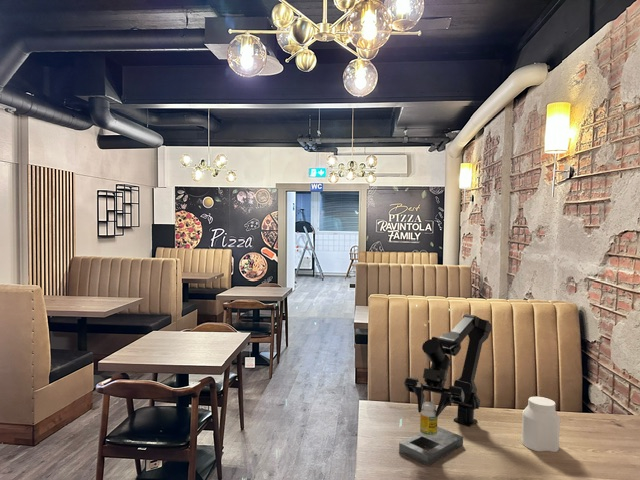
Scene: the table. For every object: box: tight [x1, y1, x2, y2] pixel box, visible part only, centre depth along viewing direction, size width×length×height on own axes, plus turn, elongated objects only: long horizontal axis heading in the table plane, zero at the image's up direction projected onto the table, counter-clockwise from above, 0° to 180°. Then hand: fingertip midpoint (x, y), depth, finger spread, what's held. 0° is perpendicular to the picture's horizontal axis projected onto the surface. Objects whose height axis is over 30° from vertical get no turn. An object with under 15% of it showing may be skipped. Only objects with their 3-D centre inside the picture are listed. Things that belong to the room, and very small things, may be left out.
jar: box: [520, 396, 561, 453], centre depth 155 cm, size 12×10×15 cm
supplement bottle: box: [419, 401, 439, 437], centre depth 147 cm, size 5×5×10 cm
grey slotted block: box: [398, 426, 464, 466], centre depth 151 cm, size 20×11×3 cm, turn 132°
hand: (427, 414), depth 146 cm, fingers closed on supplement bottle, 5 cm apart
